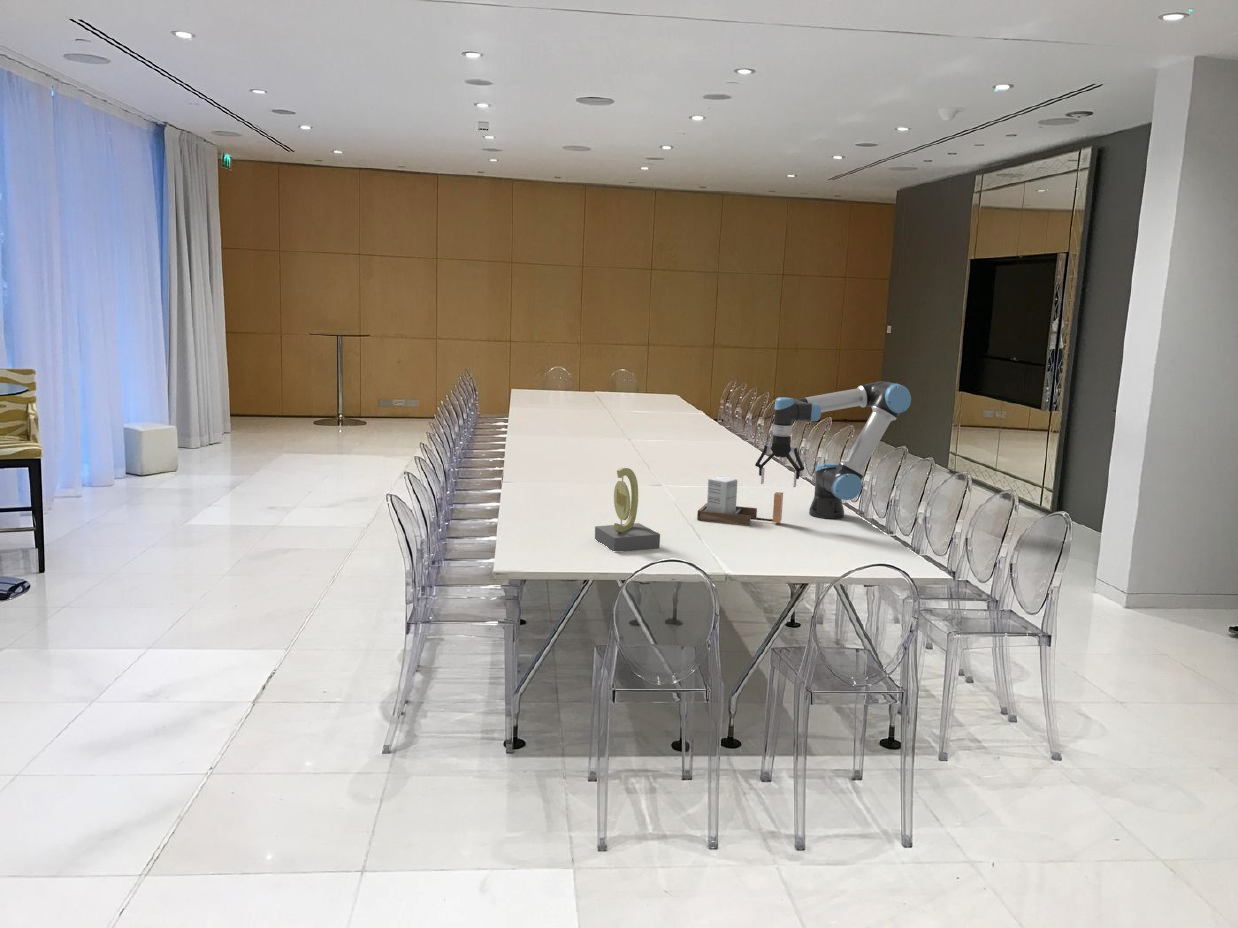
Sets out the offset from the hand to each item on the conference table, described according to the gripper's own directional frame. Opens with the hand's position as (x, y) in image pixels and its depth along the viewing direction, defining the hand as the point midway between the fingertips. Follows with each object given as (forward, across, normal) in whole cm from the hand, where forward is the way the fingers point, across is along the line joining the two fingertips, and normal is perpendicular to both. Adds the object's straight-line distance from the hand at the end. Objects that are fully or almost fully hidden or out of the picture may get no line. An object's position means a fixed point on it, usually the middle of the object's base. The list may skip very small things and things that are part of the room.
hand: (778, 485), depth 418 cm
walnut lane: (+17, -21, 0) cm, 27 cm away
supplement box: (+17, -24, 0) cm, 29 cm away
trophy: (+18, -48, -59) cm, 78 cm away
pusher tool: (+16, -14, 0) cm, 21 cm away
